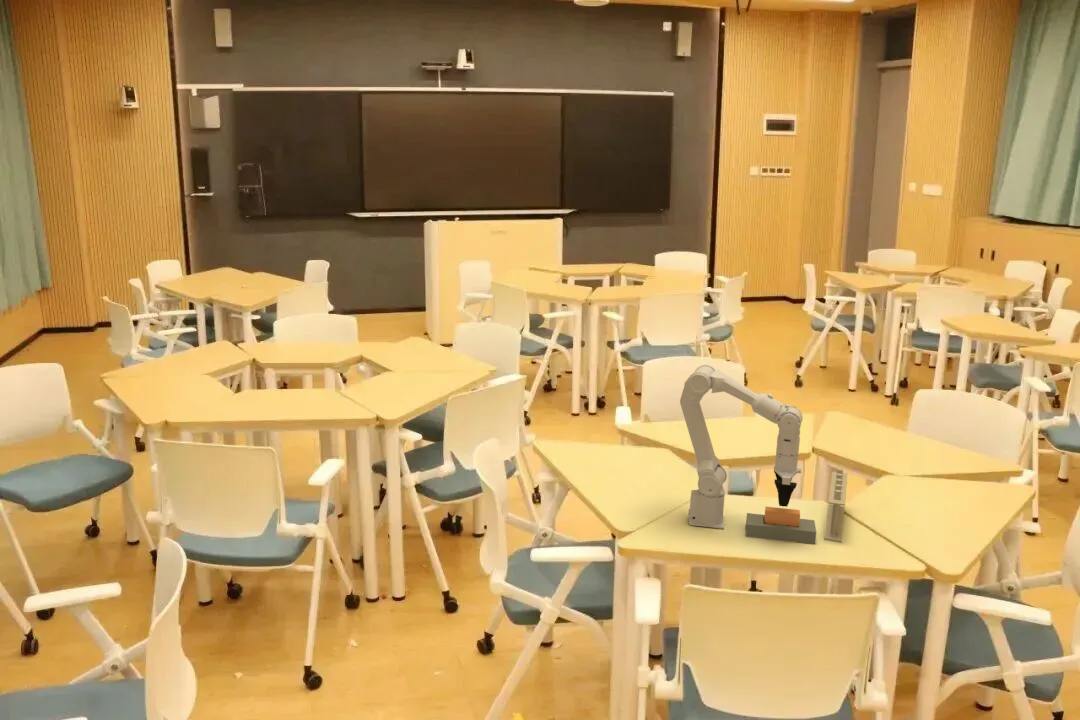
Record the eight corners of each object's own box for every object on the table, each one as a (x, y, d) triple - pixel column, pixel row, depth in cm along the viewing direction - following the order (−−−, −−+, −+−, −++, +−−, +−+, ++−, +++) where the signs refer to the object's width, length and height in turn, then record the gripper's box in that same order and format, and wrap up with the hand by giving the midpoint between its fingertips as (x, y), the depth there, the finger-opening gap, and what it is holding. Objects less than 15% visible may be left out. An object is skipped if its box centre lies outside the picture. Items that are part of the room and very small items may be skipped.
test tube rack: (841, 543, 244) (846, 496, 240) (824, 540, 245) (828, 494, 242) (843, 508, 266) (848, 466, 263) (828, 506, 268) (832, 464, 265)
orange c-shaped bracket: (763, 532, 247) (765, 510, 246) (763, 528, 250) (765, 506, 248) (797, 536, 245) (800, 514, 244) (797, 532, 248) (799, 510, 247)
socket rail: (745, 536, 246) (746, 524, 245) (745, 524, 253) (746, 512, 253) (815, 544, 242) (816, 532, 241) (813, 532, 250) (814, 520, 249)
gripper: (804, 463, 234) (799, 512, 238) (801, 445, 248) (796, 492, 251) (776, 460, 236) (771, 509, 239) (774, 443, 250) (770, 489, 253)
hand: (782, 500), depth 245 cm, fingers open, 7 cm apart
